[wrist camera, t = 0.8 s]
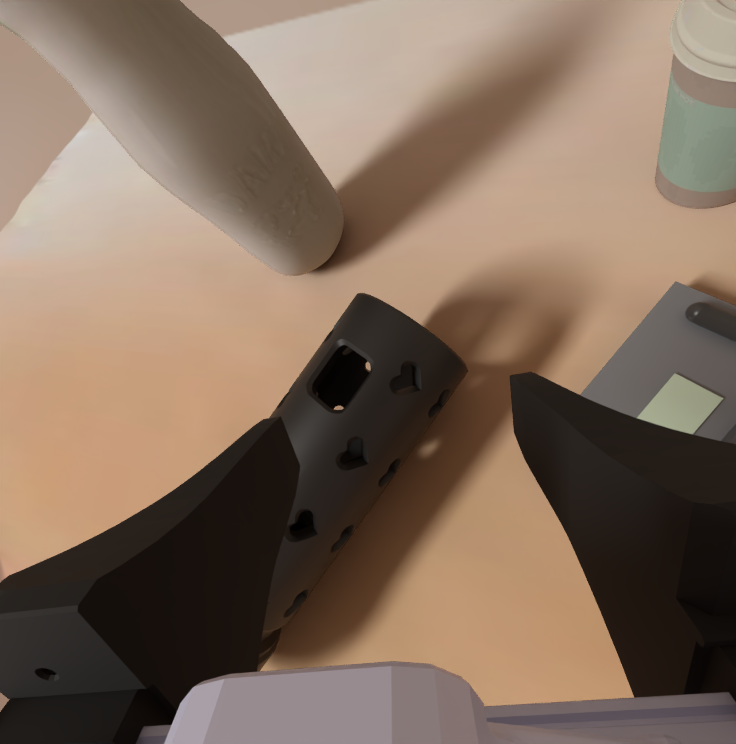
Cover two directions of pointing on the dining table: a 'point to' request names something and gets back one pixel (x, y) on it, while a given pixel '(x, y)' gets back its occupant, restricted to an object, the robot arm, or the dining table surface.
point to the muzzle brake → (352, 437)
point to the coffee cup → (700, 107)
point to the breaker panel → (677, 367)
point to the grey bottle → (191, 120)
